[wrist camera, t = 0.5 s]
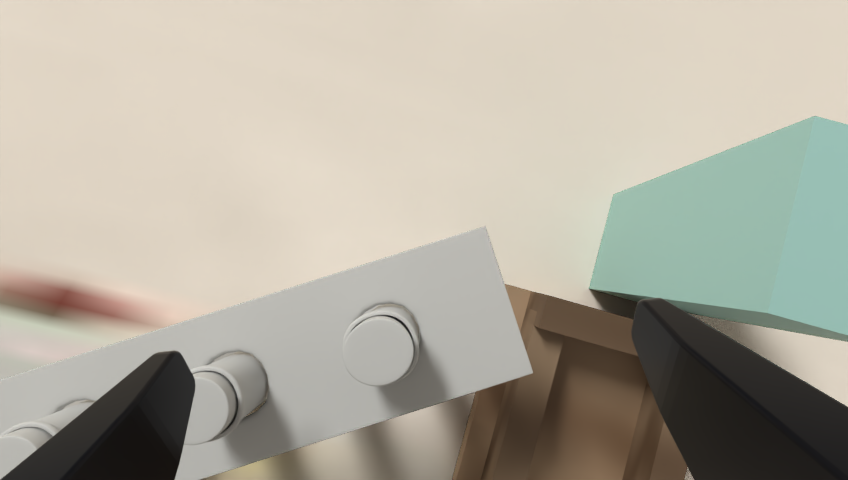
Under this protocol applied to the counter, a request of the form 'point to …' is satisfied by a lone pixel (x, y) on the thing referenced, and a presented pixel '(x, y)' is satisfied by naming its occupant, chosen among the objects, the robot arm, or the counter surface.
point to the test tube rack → (302, 359)
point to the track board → (569, 404)
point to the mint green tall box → (741, 234)
